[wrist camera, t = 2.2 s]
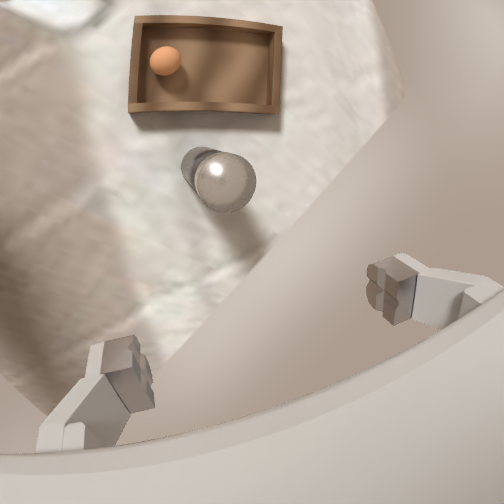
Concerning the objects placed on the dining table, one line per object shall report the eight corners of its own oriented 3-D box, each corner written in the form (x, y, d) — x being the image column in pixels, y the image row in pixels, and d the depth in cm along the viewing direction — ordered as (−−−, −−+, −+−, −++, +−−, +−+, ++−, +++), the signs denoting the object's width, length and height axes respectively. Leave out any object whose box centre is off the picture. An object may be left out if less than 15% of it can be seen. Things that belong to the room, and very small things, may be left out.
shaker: (180, 187, 39) (198, 214, 27) (180, 146, 37) (198, 154, 26) (220, 186, 40) (254, 211, 29) (221, 145, 39) (257, 153, 27)
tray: (128, 113, 33) (127, 112, 31) (135, 22, 29) (134, 16, 27) (271, 114, 39) (278, 113, 37) (274, 31, 35) (282, 26, 32)
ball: (148, 78, 32) (149, 73, 29) (150, 50, 31) (151, 43, 27) (178, 77, 33) (182, 72, 30) (180, 50, 32) (184, 43, 29)
